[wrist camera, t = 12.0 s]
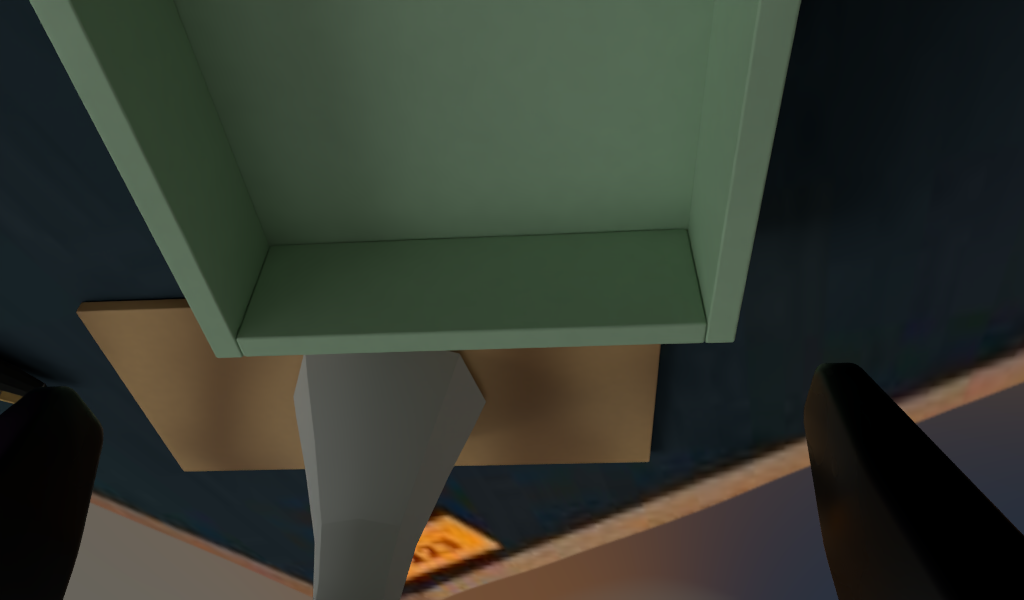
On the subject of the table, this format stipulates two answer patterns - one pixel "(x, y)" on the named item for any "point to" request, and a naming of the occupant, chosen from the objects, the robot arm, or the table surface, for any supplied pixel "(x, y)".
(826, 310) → the table surface
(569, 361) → the cork mat
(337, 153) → the bin
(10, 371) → the fountain pen
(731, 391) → the table surface
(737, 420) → the table surface
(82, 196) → the table surface
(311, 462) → the flask
